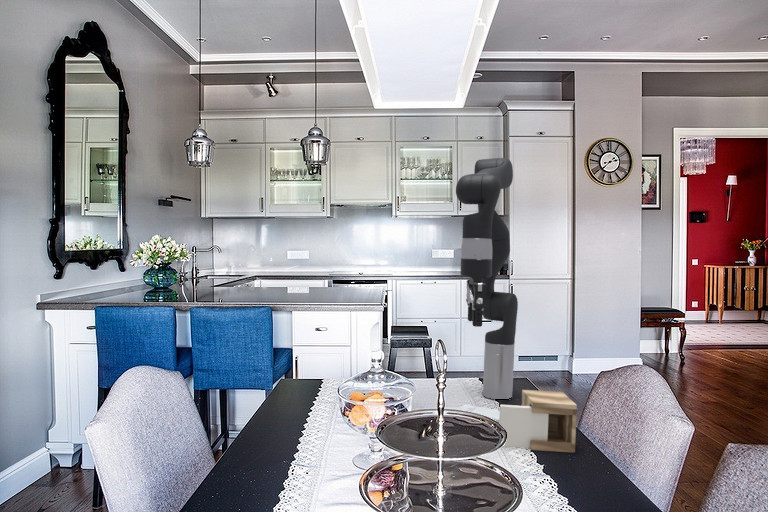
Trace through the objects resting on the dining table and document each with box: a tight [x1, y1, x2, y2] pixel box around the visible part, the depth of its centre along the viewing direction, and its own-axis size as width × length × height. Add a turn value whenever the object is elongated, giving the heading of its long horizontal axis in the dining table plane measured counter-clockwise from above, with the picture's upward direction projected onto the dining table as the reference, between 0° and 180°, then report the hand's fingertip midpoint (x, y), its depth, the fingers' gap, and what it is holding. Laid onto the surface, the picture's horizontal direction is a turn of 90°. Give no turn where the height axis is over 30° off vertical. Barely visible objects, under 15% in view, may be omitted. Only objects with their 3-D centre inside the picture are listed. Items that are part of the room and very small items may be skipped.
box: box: [520, 389, 578, 453], centre depth 123 cm, size 11×10×11 cm
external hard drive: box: [456, 403, 500, 422], centre depth 142 cm, size 2×8×12 cm
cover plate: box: [498, 404, 549, 449], centre depth 119 cm, size 2×11×9 cm, turn 87°
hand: (474, 323), depth 124 cm, fingers open, 8 cm apart
